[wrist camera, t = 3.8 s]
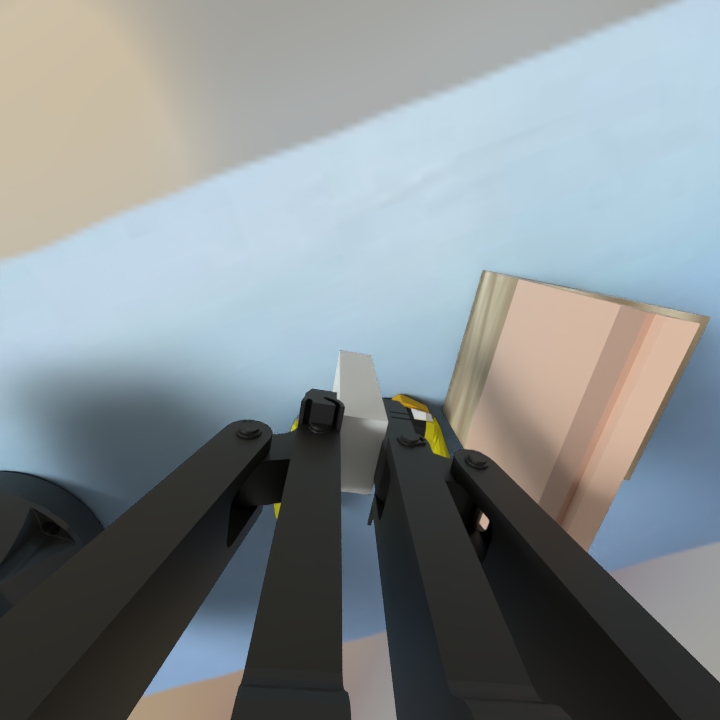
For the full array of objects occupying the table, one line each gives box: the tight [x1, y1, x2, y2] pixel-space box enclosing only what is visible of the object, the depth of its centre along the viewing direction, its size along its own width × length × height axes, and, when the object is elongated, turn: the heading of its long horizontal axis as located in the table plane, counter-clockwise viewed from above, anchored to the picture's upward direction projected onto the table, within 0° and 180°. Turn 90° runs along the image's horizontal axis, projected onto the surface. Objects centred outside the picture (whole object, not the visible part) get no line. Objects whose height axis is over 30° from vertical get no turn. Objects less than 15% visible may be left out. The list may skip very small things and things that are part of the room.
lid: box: [464, 279, 700, 552], centre depth 16 cm, size 12×12×1 cm
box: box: [442, 270, 710, 480], centre depth 27 cm, size 12×12×7 cm
